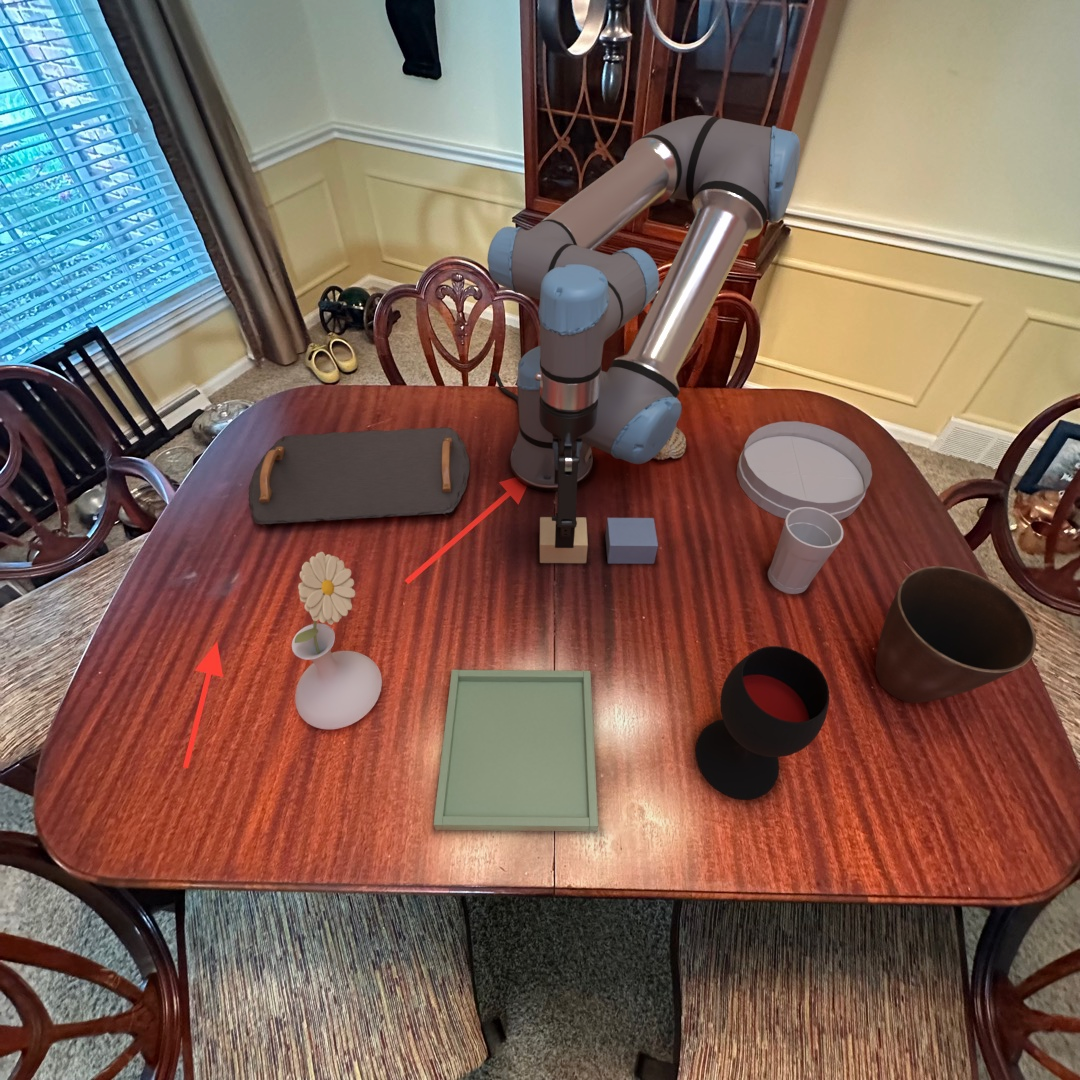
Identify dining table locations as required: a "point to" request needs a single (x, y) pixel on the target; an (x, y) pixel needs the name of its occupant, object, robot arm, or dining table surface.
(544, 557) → the tan pad
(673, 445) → the seashell
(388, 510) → the serving tray
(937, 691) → the flower pot
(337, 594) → the flower in vase
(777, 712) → the wine glass
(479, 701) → the frame
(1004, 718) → the dining table surface
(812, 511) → the cup
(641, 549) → the blue pad
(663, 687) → the dining table surface
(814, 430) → the dish
